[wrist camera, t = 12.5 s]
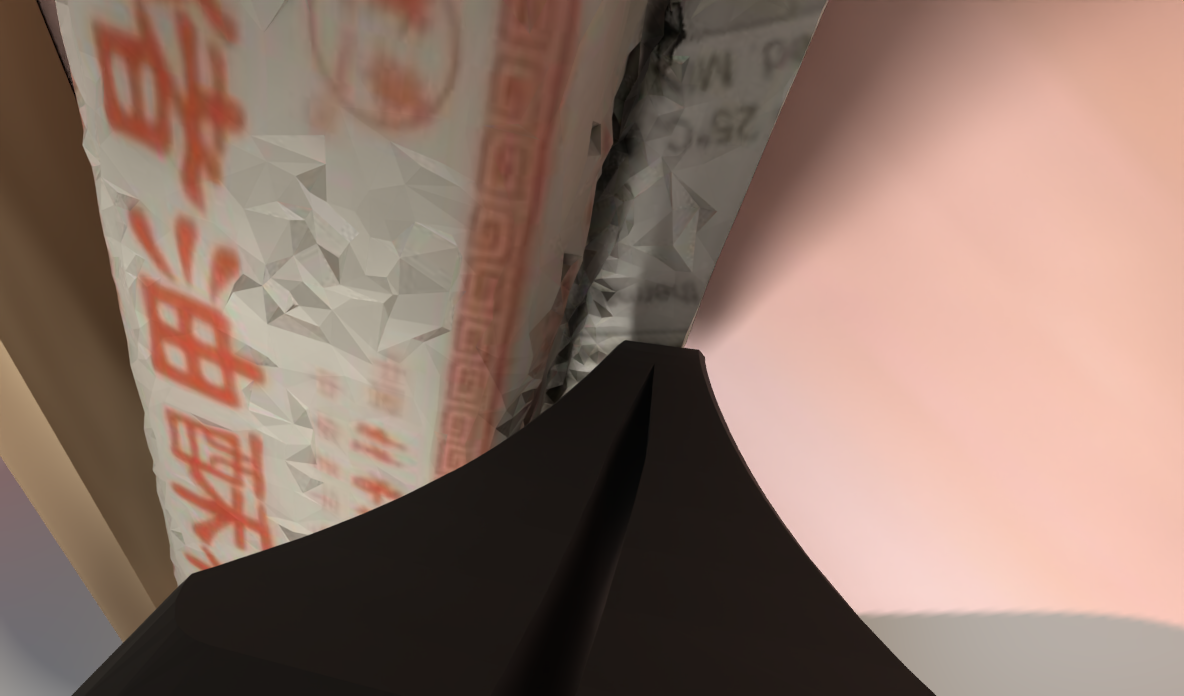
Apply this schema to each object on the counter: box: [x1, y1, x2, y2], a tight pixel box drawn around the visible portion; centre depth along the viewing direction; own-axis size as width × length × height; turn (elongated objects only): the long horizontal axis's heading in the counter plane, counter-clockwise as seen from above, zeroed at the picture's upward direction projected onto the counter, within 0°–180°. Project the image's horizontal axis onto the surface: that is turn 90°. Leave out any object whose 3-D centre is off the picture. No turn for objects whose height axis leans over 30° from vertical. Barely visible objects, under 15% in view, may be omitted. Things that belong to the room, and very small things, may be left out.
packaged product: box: [55, 0, 829, 586], centre depth 10 cm, size 18×5×10 cm
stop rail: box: [0, 0, 178, 642], centre depth 12 cm, size 2×22×3 cm, turn 178°
